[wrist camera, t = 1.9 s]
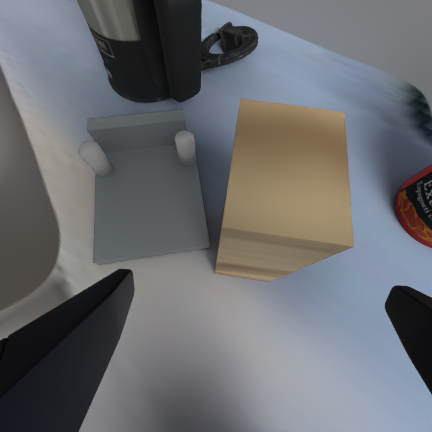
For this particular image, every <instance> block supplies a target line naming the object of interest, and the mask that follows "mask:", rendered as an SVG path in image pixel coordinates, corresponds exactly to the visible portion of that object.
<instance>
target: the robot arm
mask: <svg viewBox="0 0 432 432" xmlns="http://www.w3.org/2000/svg"><path fill="white" fill-rule="evenodd" d="M133 296H134V279H133V272H132V270H130V269H119V270H117V271H115V272H113V273H112V274H110V275H108V276H107V277H105V278H103V279H102V280H100V281H98V282H97V283H95V284H93V285H92V286H90V287H88V288H87V289H85V290H84V291H82V292H80V293H79V294H77V295H75V296H74V297H72V298H70V299H69V300H67V301H65V302H64V303H62V304H60V305H59V306H57V307H55V308H54V309H52V310H50V311H49V312H47V313H45V314H44V315H42V316H40V317H39V318H37V319H35V320H34V321H32V322H30V323H29V324H27V325H25V326H24V327H22V328H20V329H19V330H17V331H15V332H14V333H12V334H10V335H9V336H8V338H4V339H2V340H0V432H79V430H80V427H81V425H82V423H83V420H84V418H85V416H86V414H87V411H88V409H89V407H90V405H91V402H92V400H93V398H94V396H95V393H96V391H97V389H98V387H99V384H100V382H101V380H102V378H103V375H104V373H105V371H106V369H107V366H108V364H109V362H110V360H111V357H112V355H113V353H114V350H115V348H116V346H117V344H118V341H119V339H120V336H121V333H122V330H123V327H124V324H125V321H126V318H127V315H128V311H129V308H130V305H131V302H132V299H133ZM385 310H386V312H387V314H388V316H389V318H390V320H391V322H392V324H393V326H394V328H395V330H396V332H397V334H398V336H399V338H400V340H401V343H402V345H403V347H404V348H405V350H406V352H407V354H408V356H409V358H410V359H411V361H412V363H413V365H414V366H415V368H416V370H417V371H418V373H419V374H420V376H421V378H422V379H423V381H424V383H425V384H426V386H427V388H428V389H429V391H430V392H431V394H432V298H431V297H429V296H427V295H425V294H423V293H421V292H419V291H417V290H415V289H413V288H411V287H408V286H394V287H393V288H392V289H391V291H390V293H389V296H388V298H387V300H386V302H385Z"/></svg>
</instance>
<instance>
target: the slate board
mask: <svg viewBox="0 0 432 432" xmlns="http://www.w3.org/2000/svg"><path fill="white" fill-rule="evenodd" d="M87 131H88V132H89V134H90V135H91V137H92V138H93V139H94V141H87V142H84V143H83V144H81V146H80V147H79V154H80V155H81V156H82V158H83V159H84V160H85V161H86V162H87V163H88V165H89V166H90V167H91V168H92V169H93V171H94V172H95V173H96V181H95V220H94V259H93V263H96V264H99V265H100V264H107V263H113V262H120V261H126V260H133V259H139V258H146V257H153V256H159V255H166V254H172V253H179V252H185V251H192V250H198V249H205V248H210V243H209V237H208V230H207V224H206V217H205V211H204V205H203V198H202V192H201V186H200V179H199V173H198V166H197V160H196V149H195V138H194V135H193V133H191V132H190V131H186V127H185V120H184V113H183V109H181V110H171V111H161V112H151V113H142V114H132V115H122V116H112V117H103V118H93V119H88V123H87Z"/></svg>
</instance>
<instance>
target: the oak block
mask: <svg viewBox="0 0 432 432" xmlns="http://www.w3.org/2000/svg"><path fill="white" fill-rule="evenodd" d="M352 247H354V242H353V228H352V214H351V200H350V186H349V172H348V158H347V144H346V130H345V116H344V112H342V111H334V110H327V109H319V108H311V107H304V106H296V105H289V104H281V103H273V102H266V101H258V100H250V99H243V98H241V99H240V106H239V112H238V119H237V126H236V133H235V139H234V146H233V153H232V159H231V166H230V173H229V179H228V186H227V193H226V199H225V206H224V213H223V220H222V227H221V234H220V241H219V247H218V254H217V261H216V268H215V274H221V275H228V276H234V277H241V278H248V279H254V280H261V281H267V282H270V281H272V280H275V279H277V278H280V277H282V276H284V275H287V274H289V273H292V272H294V271H296V270H299V269H301V268H304V267H306V266H308V265H311V264H313V263H316V262H318V261H320V260H323V259H325V258H328V257H330V256H332V255H335V254H337V253H340V252H342V251H344V250H347V249H349V248H352Z"/></svg>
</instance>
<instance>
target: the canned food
mask: <svg viewBox="0 0 432 432" xmlns="http://www.w3.org/2000/svg"><path fill="white" fill-rule="evenodd" d="M395 210H396V214H397V217H398V219H399V221H400V223H401V224H402V226H403V227H404V229H405V230H406V231H407V232H408V233H409V234H410V235H411V236H412V237H413V238H415V239H416V240H417V241H419V242H420V243H422V244H424V245H426V246H428V247H431V248H432V164H431V165H430V166H428V167H427V168H425V169H424V170H422V171H420V172H419V173H417V174H416V175H414V176H413V177H411V178H410V179H408V180H407V181H406V182H405V183H404V184H403V186H402V187H401V188H400V190H399V191H398V193H397V195H396V198H395Z"/></svg>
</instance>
